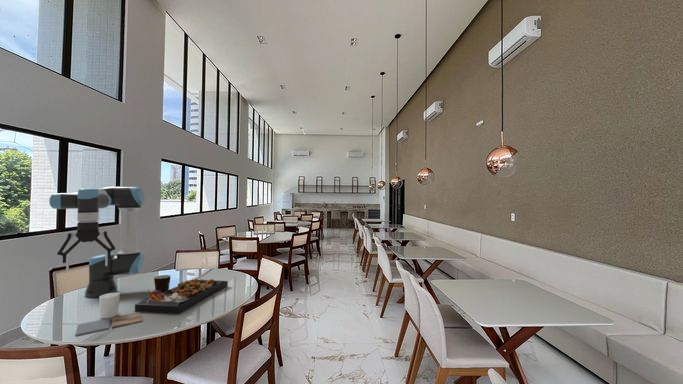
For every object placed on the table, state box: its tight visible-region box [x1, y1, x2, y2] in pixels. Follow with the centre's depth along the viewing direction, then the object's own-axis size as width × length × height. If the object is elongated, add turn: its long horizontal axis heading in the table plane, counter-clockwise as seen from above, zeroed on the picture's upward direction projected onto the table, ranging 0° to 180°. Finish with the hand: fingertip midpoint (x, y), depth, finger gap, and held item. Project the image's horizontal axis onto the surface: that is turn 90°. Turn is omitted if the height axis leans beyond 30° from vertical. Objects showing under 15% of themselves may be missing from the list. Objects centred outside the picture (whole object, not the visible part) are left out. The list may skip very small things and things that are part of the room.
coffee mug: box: [153, 274, 171, 293], centre depth 178 cm, size 12×9×10 cm
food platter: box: [134, 278, 229, 315], centre depth 168 cm, size 45×25×10 cm, turn 171°
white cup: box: [98, 292, 121, 319], centre depth 143 cm, size 8×8×10 cm
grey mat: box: [75, 318, 110, 337], centre depth 130 cm, size 13×11×1 cm
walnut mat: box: [111, 312, 143, 329], centre depth 138 cm, size 13×11×1 cm
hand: (87, 267), depth 135 cm, fingers open, 13 cm apart
